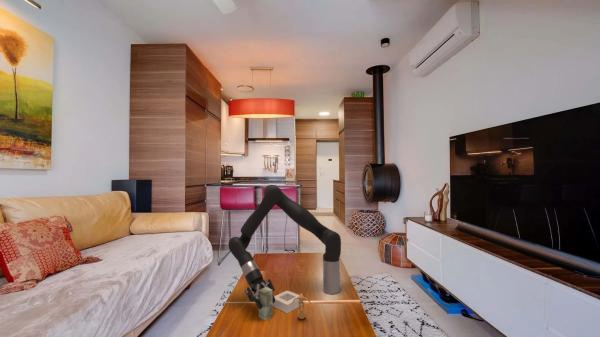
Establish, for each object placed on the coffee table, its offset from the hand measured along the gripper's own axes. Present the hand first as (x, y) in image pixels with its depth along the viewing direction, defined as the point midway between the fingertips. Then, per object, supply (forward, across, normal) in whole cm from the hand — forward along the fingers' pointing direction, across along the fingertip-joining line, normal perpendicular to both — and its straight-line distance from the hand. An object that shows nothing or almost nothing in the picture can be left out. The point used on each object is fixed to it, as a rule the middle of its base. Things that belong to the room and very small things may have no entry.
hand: (267, 305), depth 117 cm
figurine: (+13, +9, -5) cm, 16 cm away
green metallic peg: (+3, 0, +5) cm, 6 cm away
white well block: (+3, +14, +5) cm, 15 cm away
